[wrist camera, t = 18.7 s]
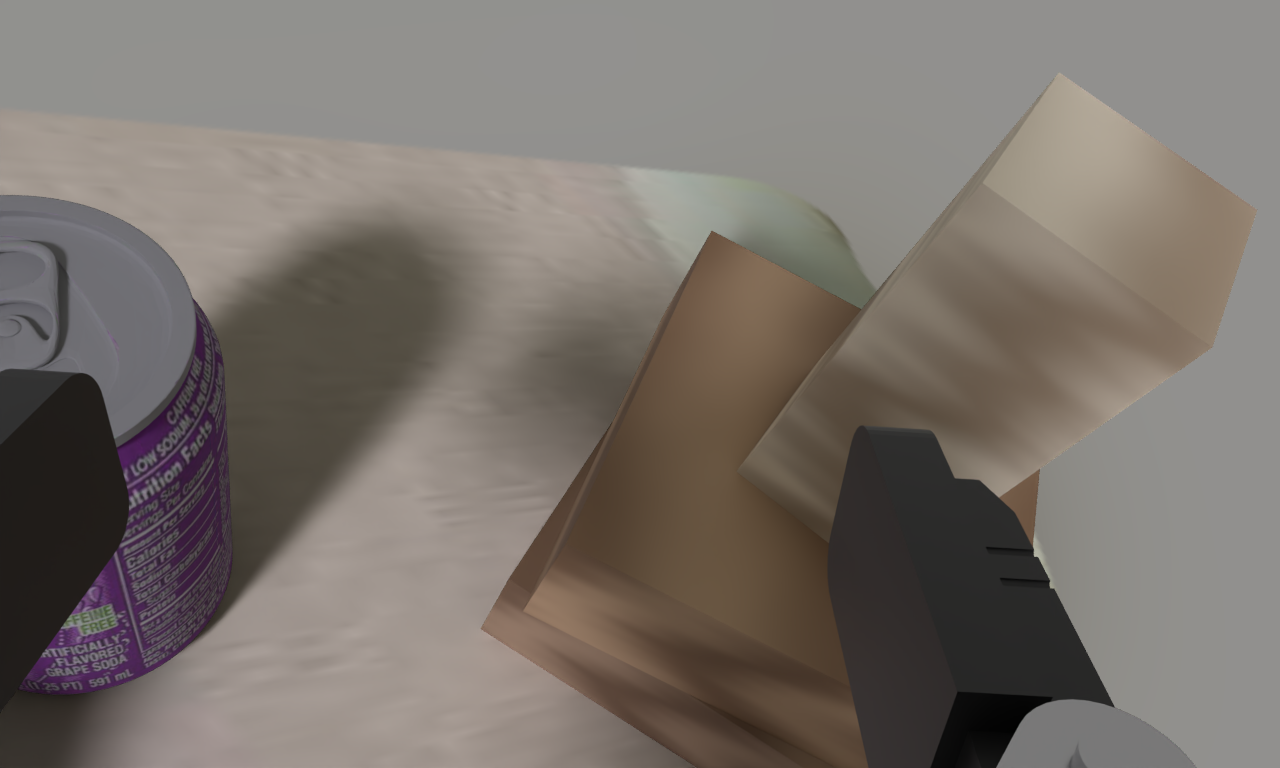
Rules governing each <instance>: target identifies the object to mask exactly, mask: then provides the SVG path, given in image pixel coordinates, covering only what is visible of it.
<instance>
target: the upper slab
mask: <svg viewBox="0 0 1280 768" xmlns="http://www.w3.org/2000/svg"><path fill="white" fill-rule="evenodd" d="M860 311H861V309H860V308H858V307H856V306H854V305H852V304H850V303H848V302H846V301H844V300H842V299H841V298H839V297H837V296H835V295H833V294H831V293H829V292H827V291H825V290H823V289H822V288H820V287H818V286H816V285H814V284H812V283H810V282H808V281H806V280H804V279H803V278H801V277H799V276H797V275H795V274H793V273H791V272H789V271H787V270H785V269H784V268H782V267H780V266H778V265H776V264H774V263H772V262H770V261H768V260H766V259H765V258H763V257H761V256H759V255H757V254H755V253H753V252H751V251H749V250H747V249H746V248H744V247H742V246H740V245H738V244H736V243H734V242H732V241H730V240H728V239H727V238H725V237H723V236H721V235H719V234H717V233H715V232H713V231H711V233H710V235H709V237H708V238H707V240H706V242H705V244H704V245H703V247H702V249H701V251H700V252H699V254H698V256H697V258H696V259H695V261H694V263H693V265H692V266H691V268H690V270H689V272H688V273H687V275H686V277H685V279H684V280H683V282H682V284H681V286H680V287H679V289H678V291H677V293H676V294H675V296H674V298H673V300H672V301H671V303H670V305H669V307H668V308H667V310H666V312H665V314H664V315H663V317H662V319H661V321H660V324H659V326H658V328H657V330H656V332H655V334H654V336H653V338H652V340H651V342H650V345H649V347H648V349H647V351H646V353H645V355H644V357H643V359H642V361H641V364H640V366H639V368H638V370H637V372H636V374H635V376H634V378H633V380H632V382H631V385H630V387H629V389H628V391H627V393H626V395H625V397H624V399H623V401H622V404H621V406H620V408H619V410H618V412H617V414H616V416H615V418H614V420H613V422H612V425H611V427H610V429H609V431H608V433H607V435H606V437H605V439H604V441H603V444H602V446H601V448H600V450H599V452H598V454H597V456H596V458H595V460H594V462H593V465H592V467H591V469H590V471H589V473H588V475H587V477H586V479H585V481H584V483H583V486H582V488H581V490H580V492H579V494H578V496H577V498H576V500H575V502H574V505H573V507H572V509H571V511H570V513H569V515H568V517H567V519H566V521H565V523H564V526H563V528H562V530H561V532H560V534H559V536H558V538H557V540H556V542H555V544H554V547H553V549H552V551H551V553H550V555H549V557H548V559H547V561H546V563H545V566H544V568H543V570H542V572H541V574H540V576H539V578H538V580H537V582H536V584H535V587H534V589H533V591H532V593H531V595H530V597H529V599H528V601H527V603H526V606H525V608H524V610H523V612H525V613H527V614H529V615H531V616H533V617H535V618H537V619H539V620H541V621H543V622H545V623H547V624H549V625H551V626H553V627H555V628H557V629H559V630H561V631H563V632H565V633H567V634H569V635H571V636H573V637H575V638H577V639H579V640H581V641H583V642H585V643H587V644H589V645H591V646H593V647H595V648H597V649H599V650H601V651H603V652H605V653H607V654H609V655H611V656H613V657H615V658H617V659H619V660H621V661H623V662H625V663H627V664H629V665H631V666H633V667H635V668H637V669H639V670H641V671H643V672H645V673H647V674H649V675H651V676H653V677H655V678H657V679H659V680H662V681H664V682H666V683H668V684H670V685H672V686H674V687H676V688H678V689H680V690H682V691H684V692H686V693H688V694H690V695H692V696H694V697H696V698H698V699H700V700H702V701H704V702H706V703H708V704H710V705H712V706H714V707H716V708H718V709H720V710H722V711H724V712H726V713H728V714H730V715H732V716H734V717H736V718H738V719H740V720H742V721H744V722H746V723H748V724H750V725H752V726H754V727H756V728H758V729H760V730H762V731H764V732H766V733H768V734H770V735H772V736H774V737H776V738H778V739H780V740H782V741H784V742H786V743H788V744H790V745H792V746H794V747H796V748H798V749H800V750H802V751H804V752H806V753H808V754H810V755H812V756H814V757H816V758H818V759H820V760H822V761H824V762H826V763H828V764H830V765H832V766H834V767H836V768H868V763H867V759H866V755H865V750H864V746H863V741H862V737H861V732H860V728H859V723H858V719H857V715H856V710H855V706H854V701H853V697H852V692H851V688H850V683H849V679H848V674H847V670H846V666H845V661H844V657H843V652H842V648H841V643H840V639H839V634H838V630H837V626H836V621H835V617H834V612H833V608H832V603H831V599H830V594H829V587H828V572H827V563H828V548H829V543H828V542H827V541H825V540H824V539H823V538H821V537H820V536H819V535H818V534H816V533H815V532H814V531H812V530H811V529H810V528H809V527H807V526H806V525H805V524H803V523H802V522H801V521H800V520H798V519H797V518H796V517H794V516H793V515H792V514H791V513H789V512H788V511H787V510H785V509H784V508H783V507H782V506H780V505H779V504H778V503H776V502H775V501H774V500H773V499H771V498H770V497H769V496H767V495H766V494H765V493H764V492H762V491H761V490H760V489H758V488H757V487H756V486H755V485H753V484H752V483H751V482H749V481H748V480H747V479H746V478H744V477H743V476H742V475H740V474H739V473H738V472H737V470H738V469H739V467H740V466H741V464H742V463H743V462H744V460H745V459H746V458H747V456H748V455H749V454H750V452H751V451H752V450H753V448H754V447H755V446H756V444H757V443H758V441H759V440H760V439H761V437H762V436H763V435H764V433H765V432H766V431H767V429H768V428H769V427H770V425H771V424H772V422H773V421H774V420H775V418H776V417H777V416H778V414H779V413H780V412H781V410H782V409H783V408H784V406H785V405H786V404H787V402H788V401H789V399H790V398H791V397H792V395H793V394H794V393H795V391H796V390H797V389H798V387H799V386H800V385H801V383H802V382H803V381H804V379H805V378H806V376H807V375H808V374H809V372H810V371H811V370H812V368H813V367H814V366H815V365H816V363H817V362H818V361H819V360H820V359H821V357H822V356H823V355H824V354H825V353H826V351H827V350H828V349H829V348H830V347H831V346H832V344H833V343H834V342H835V341H836V340H837V338H838V337H839V336H840V335H841V334H842V332H843V331H844V330H845V329H846V328H847V326H848V325H849V324H850V323H851V322H852V320H853V319H854V318H855V317H856V316H857V314H858V313H859V312H860ZM1039 471H1040V469H1039V470H1037V471H1036V472H1035V473H1033V474H1032V475H1030V476H1029V477H1028V478H1026V479H1025V480H1023V481H1022V482H1020V483H1019V484H1018V485H1016V486H1015V487H1013V488H1012V489H1010V490H1009V491H1008V492H1006V493H1005V494H1003V495H1002V496H1001V497H999V498H1000V499H1001V500H1002V501H1003V502H1004V503H1005V504H1006V505H1007V506H1008V507H1010V508H1011V509H1012V510H1013V511H1014V512H1015V513H1016V515H1017V517H1018V519H1019V521H1020V523H1021V525H1022V527H1023V529H1024V531H1025V533H1026V535H1027V537H1028V539H1029V541H1030V543H1031V545H1032V547H1033V538H1034V527H1035V515H1036V504H1037V494H1038V493H1037V492H1038V483H1039V482H1038V481H1039Z"/></svg>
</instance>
